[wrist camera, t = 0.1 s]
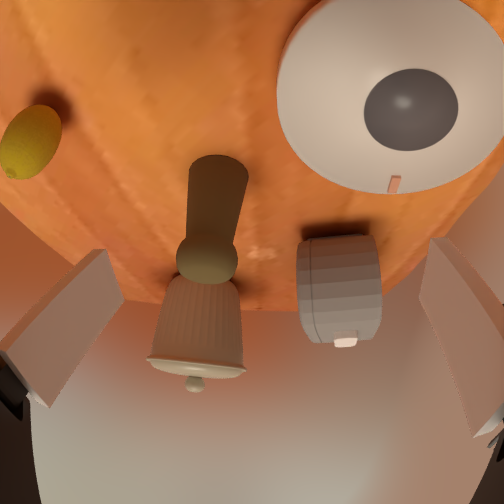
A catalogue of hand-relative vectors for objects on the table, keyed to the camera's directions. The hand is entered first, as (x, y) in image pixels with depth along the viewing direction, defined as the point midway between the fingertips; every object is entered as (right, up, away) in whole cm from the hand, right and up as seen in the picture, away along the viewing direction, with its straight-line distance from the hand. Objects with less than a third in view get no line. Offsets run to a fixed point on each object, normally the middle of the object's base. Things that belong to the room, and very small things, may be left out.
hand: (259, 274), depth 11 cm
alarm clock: (+12, +1, +32) cm, 35 cm away
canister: (-9, -5, +45) cm, 46 cm away
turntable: (+10, +12, +5) cm, 16 cm away
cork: (-4, +9, +18) cm, 20 cm away
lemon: (-19, +14, +9) cm, 25 cm away
